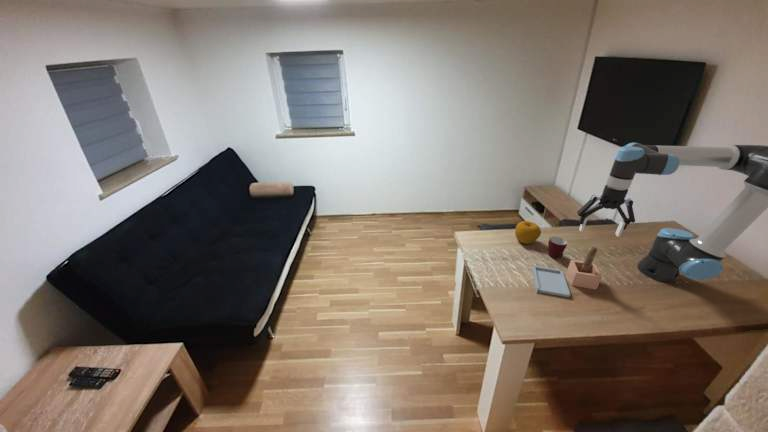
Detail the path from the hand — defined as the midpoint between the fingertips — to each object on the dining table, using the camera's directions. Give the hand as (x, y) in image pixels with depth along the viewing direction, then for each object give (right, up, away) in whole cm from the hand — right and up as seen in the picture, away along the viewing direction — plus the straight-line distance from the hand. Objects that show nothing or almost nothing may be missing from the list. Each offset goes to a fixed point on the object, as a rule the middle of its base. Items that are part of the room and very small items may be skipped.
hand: (598, 233), depth 127 cm
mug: (-2, -15, +29) cm, 33 cm away
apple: (-11, -7, +43) cm, 45 cm away
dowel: (0, -23, +12) cm, 26 cm away
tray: (-14, -24, +12) cm, 30 cm away
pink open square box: (0, -23, +13) cm, 27 cm away
